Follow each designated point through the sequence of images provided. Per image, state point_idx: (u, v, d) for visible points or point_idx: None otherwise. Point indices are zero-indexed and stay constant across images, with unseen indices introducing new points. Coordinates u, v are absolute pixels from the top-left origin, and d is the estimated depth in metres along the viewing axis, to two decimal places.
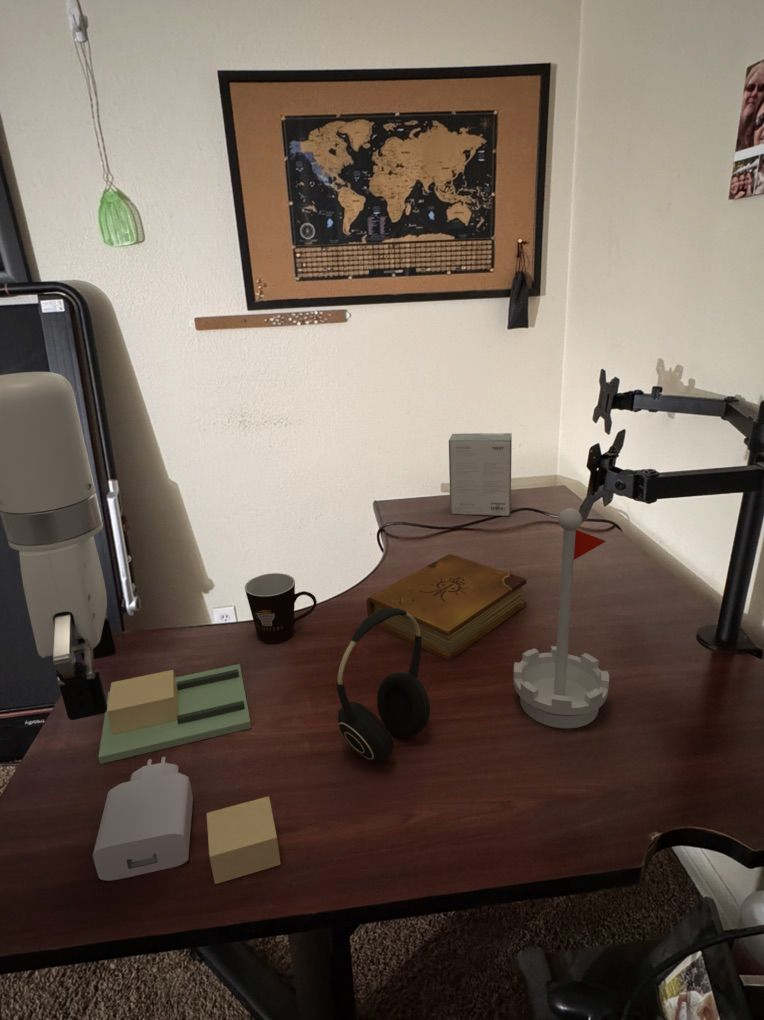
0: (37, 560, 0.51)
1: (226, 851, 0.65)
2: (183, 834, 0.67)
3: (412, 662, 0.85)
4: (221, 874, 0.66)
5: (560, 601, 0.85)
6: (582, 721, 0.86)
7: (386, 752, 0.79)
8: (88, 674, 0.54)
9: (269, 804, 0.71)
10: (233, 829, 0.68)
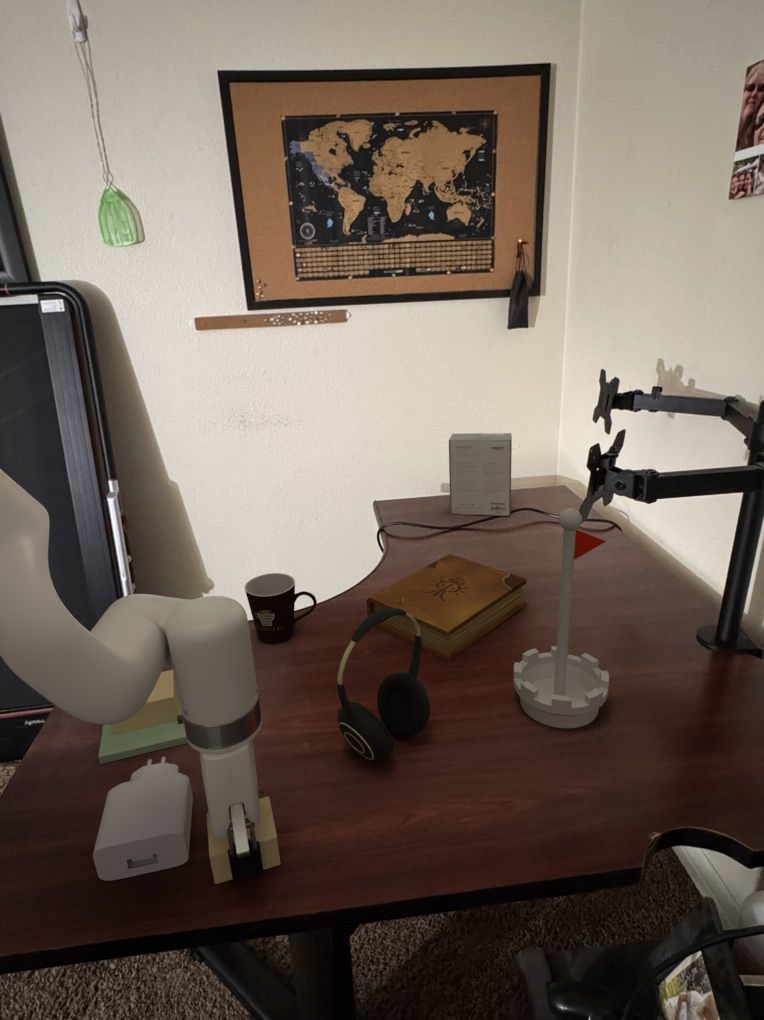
0: (219, 764, 0.60)
1: (226, 851, 0.65)
2: (183, 834, 0.67)
3: (412, 662, 0.85)
4: (221, 874, 0.66)
5: (560, 601, 0.85)
6: (582, 721, 0.86)
7: (386, 752, 0.79)
8: (254, 847, 0.64)
9: (269, 804, 0.71)
10: None
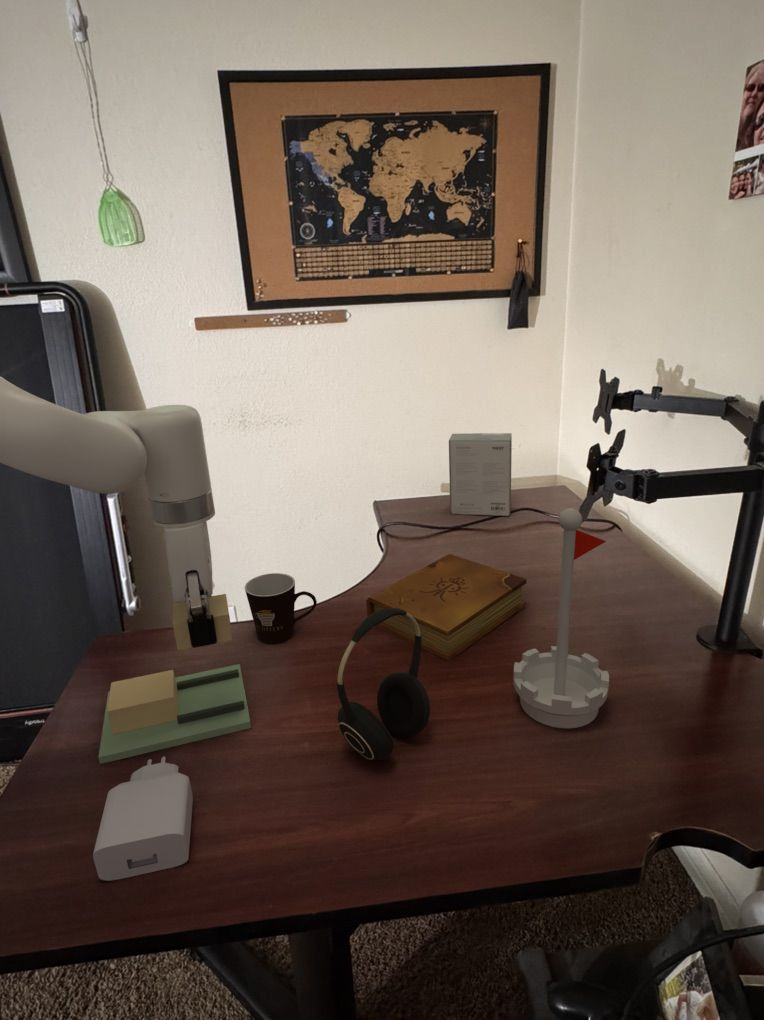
0: (177, 534, 0.75)
1: (186, 621, 0.80)
2: (183, 834, 0.67)
3: (412, 662, 0.85)
4: (183, 642, 0.81)
5: (560, 601, 0.85)
6: (582, 721, 0.86)
7: (386, 752, 0.79)
8: (208, 615, 0.79)
9: (225, 597, 0.86)
10: None
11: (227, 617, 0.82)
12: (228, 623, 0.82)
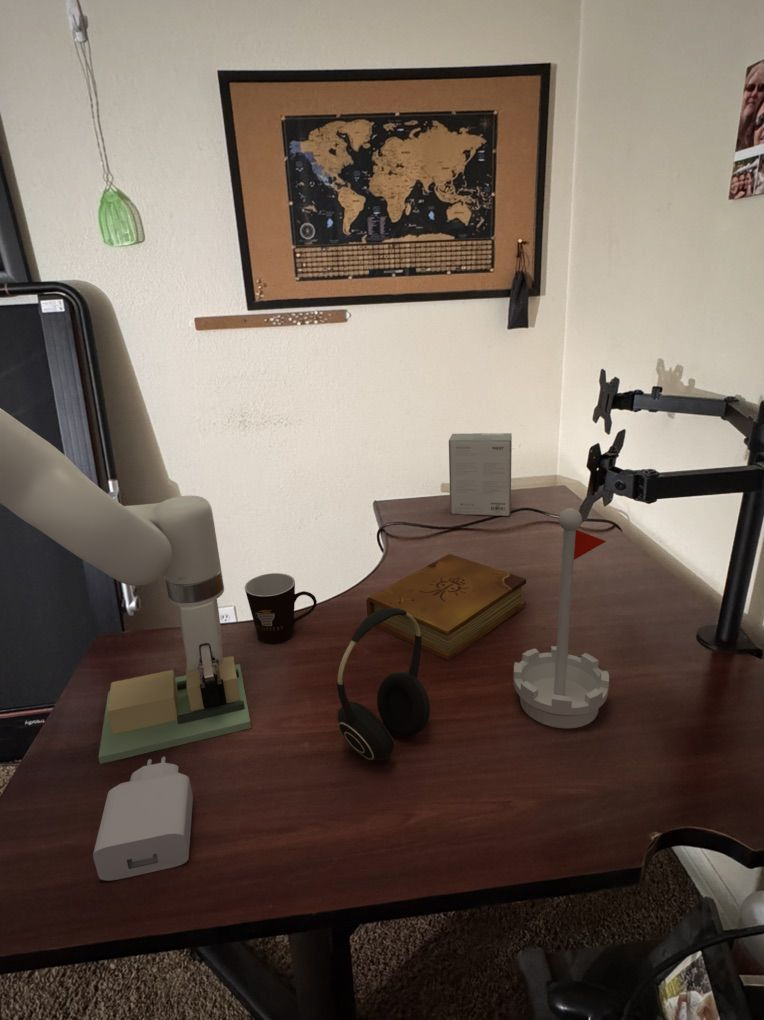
0: (192, 612, 0.84)
1: (199, 685, 0.89)
2: (183, 834, 0.67)
3: (412, 662, 0.85)
4: (196, 703, 0.90)
5: (560, 601, 0.85)
6: (582, 721, 0.86)
7: (386, 752, 0.79)
8: (218, 680, 0.88)
9: (233, 660, 0.95)
10: None
11: (235, 680, 0.91)
12: (236, 685, 0.91)
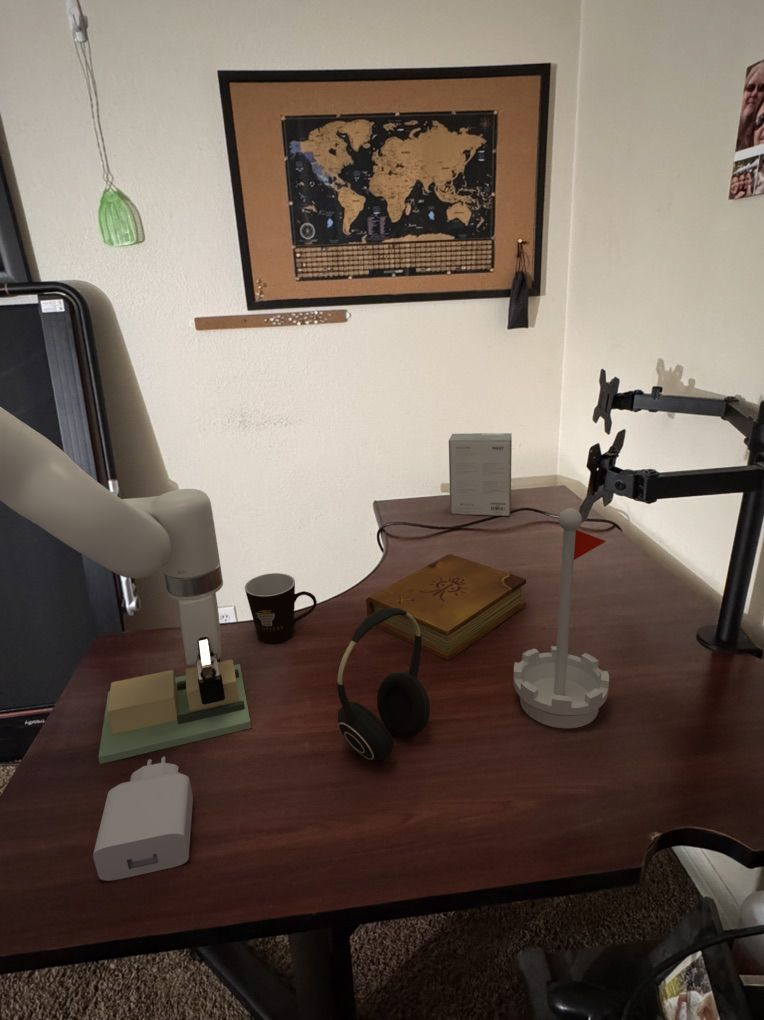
0: (190, 606, 0.83)
1: (198, 689, 0.90)
2: (183, 834, 0.67)
3: (412, 662, 0.85)
4: (195, 707, 0.90)
5: (560, 601, 0.85)
6: (582, 721, 0.86)
7: (386, 752, 0.79)
8: (217, 675, 0.86)
9: (232, 663, 0.95)
10: None
11: (235, 684, 0.91)
12: (236, 689, 0.91)
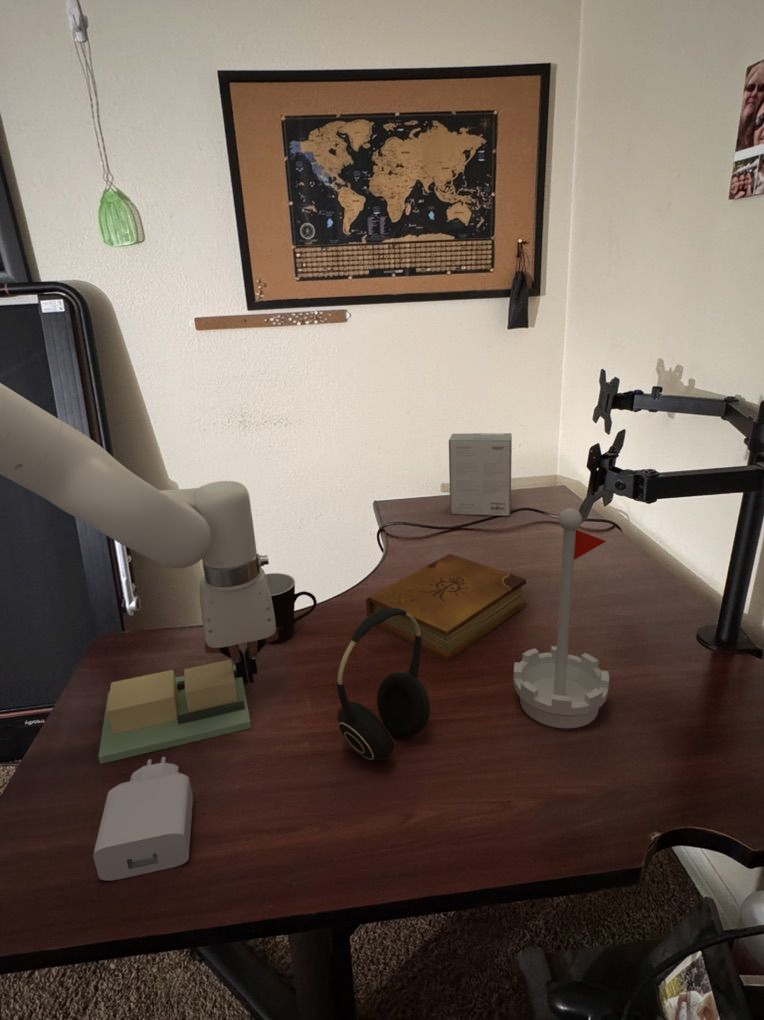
0: (200, 584, 0.88)
1: (197, 689, 0.89)
2: (183, 834, 0.67)
3: (412, 662, 0.85)
4: (194, 707, 0.90)
5: (560, 601, 0.85)
6: (582, 721, 0.86)
7: (386, 752, 0.79)
8: None
9: (231, 663, 0.95)
10: (203, 677, 0.92)
11: (233, 684, 0.91)
12: (234, 689, 0.91)
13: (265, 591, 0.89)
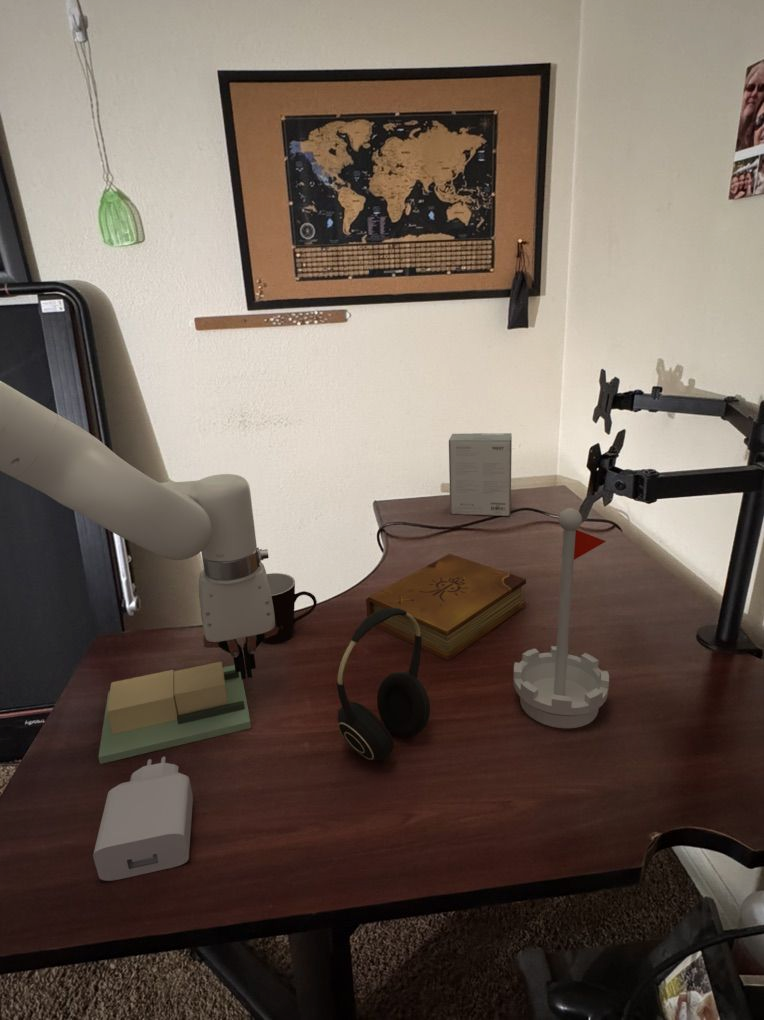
0: (199, 577, 0.88)
1: (187, 691, 0.89)
2: (183, 834, 0.67)
3: (412, 662, 0.85)
4: (183, 709, 0.90)
5: (560, 601, 0.85)
6: (582, 721, 0.86)
7: (386, 752, 0.79)
8: None
9: (221, 666, 0.95)
10: (193, 679, 0.92)
11: (223, 686, 0.91)
12: (224, 691, 0.91)
13: (265, 585, 0.88)
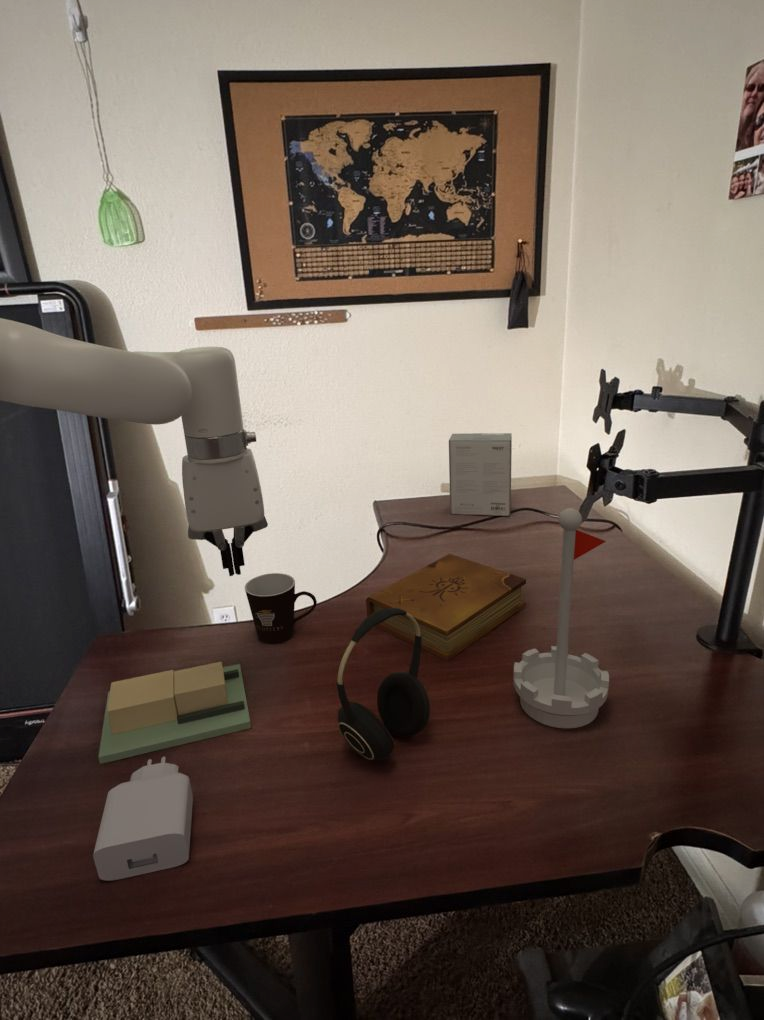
0: (182, 461, 0.82)
1: (187, 691, 0.89)
2: (183, 834, 0.67)
3: (412, 662, 0.85)
4: (183, 709, 0.90)
5: (560, 601, 0.85)
6: (582, 721, 0.86)
7: (386, 752, 0.79)
8: None
9: (221, 666, 0.95)
10: (193, 679, 0.92)
11: (223, 686, 0.91)
12: (224, 691, 0.91)
13: (252, 469, 0.83)
